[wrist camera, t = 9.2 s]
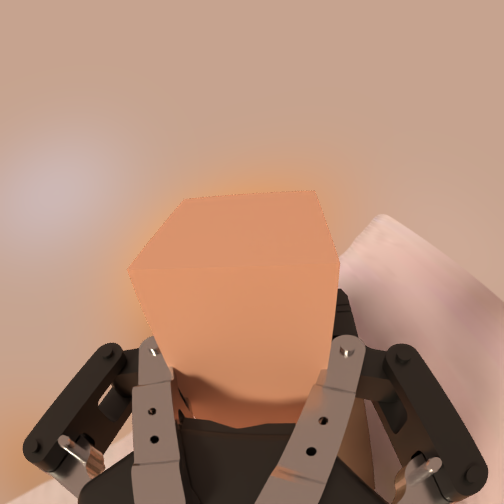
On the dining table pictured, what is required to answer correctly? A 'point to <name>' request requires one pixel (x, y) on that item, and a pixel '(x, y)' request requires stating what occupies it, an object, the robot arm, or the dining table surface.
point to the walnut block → (358, 444)
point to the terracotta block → (242, 302)
